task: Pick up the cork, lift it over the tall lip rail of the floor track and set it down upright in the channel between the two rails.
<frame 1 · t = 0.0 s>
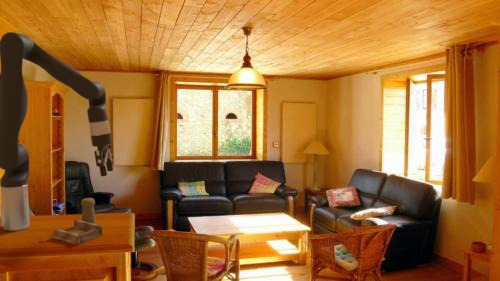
hand: (107, 173, 160), 22 cm above the table, tool pointing down, fingers open, 8 cm apart
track: (78, 236, 154), on the table
cork: (88, 225, 166), on the table
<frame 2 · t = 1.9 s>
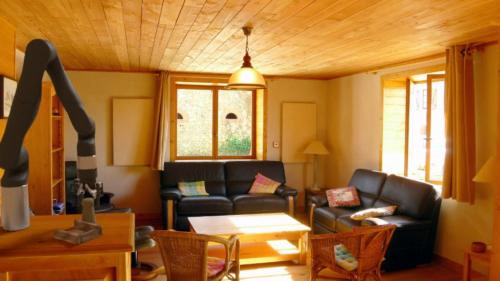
hand: (89, 205, 165), 8 cm above the table, tool pointing down, fingers open, 8 cm apart
nothing on the table moved.
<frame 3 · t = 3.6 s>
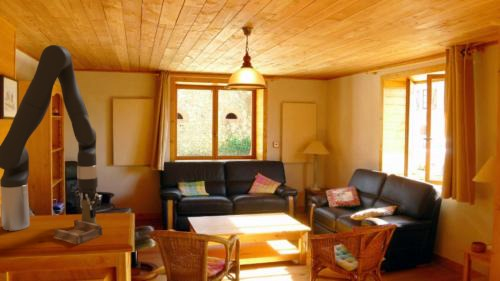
hand: (88, 216, 166), 3 cm above the table, tool pointing down, fingers closed on cork, 4 cm apart
cork: (88, 225, 166), on the table, touching gripper
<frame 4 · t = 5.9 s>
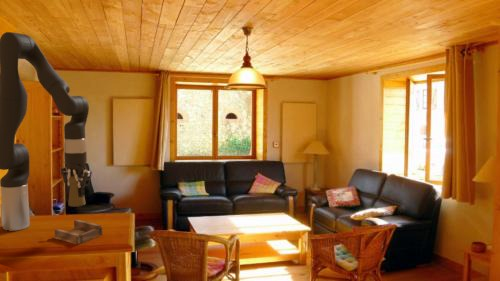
hand: (76, 195, 152), 16 cm above the table, tool pointing down, fingers closed on cork, 4 cm apart
cork: (76, 204, 152), point 12 cm above the table, touching gripper
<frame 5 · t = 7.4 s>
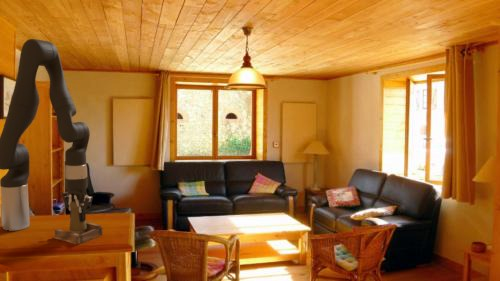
hand: (78, 220, 153), 6 cm above the table, tool pointing down, fingers closed on cork, 4 cm apart
cork: (78, 229, 153), point 3 cm above the table, touching gripper
when the fingers open (5 cm above the table, at t = 8.5 s): cork moves 2 cm, resting on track.
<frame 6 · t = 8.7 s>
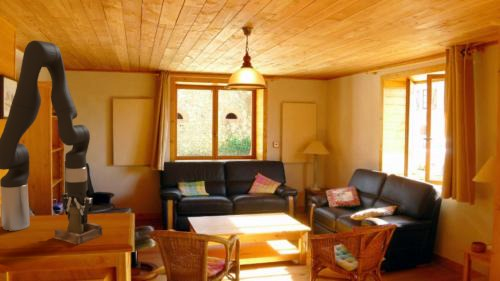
hand: (77, 222, 153), 6 cm above the table, tool pointing down, fingers open, 6 cm apart
cork: (75, 233, 154), point 1 cm above the table, touching gripper, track
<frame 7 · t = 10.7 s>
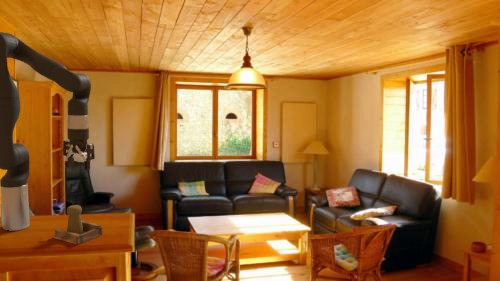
hand: (78, 168, 155), 25 cm above the table, tool pointing down, fingers open, 8 cm apart
cork: (75, 234, 154), resting on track
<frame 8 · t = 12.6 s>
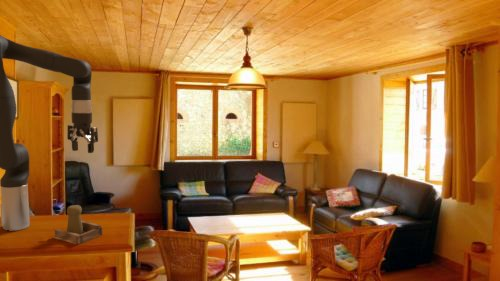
hand: (82, 151, 163), 30 cm above the table, tool pointing down, fingers open, 8 cm apart
nothing on the table moved.
at the end: cork inside the target area on the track (1.2 cm from its centre), point 0.4 cm above the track's base; cork tilted 0°; the gripper is holding nothing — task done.
